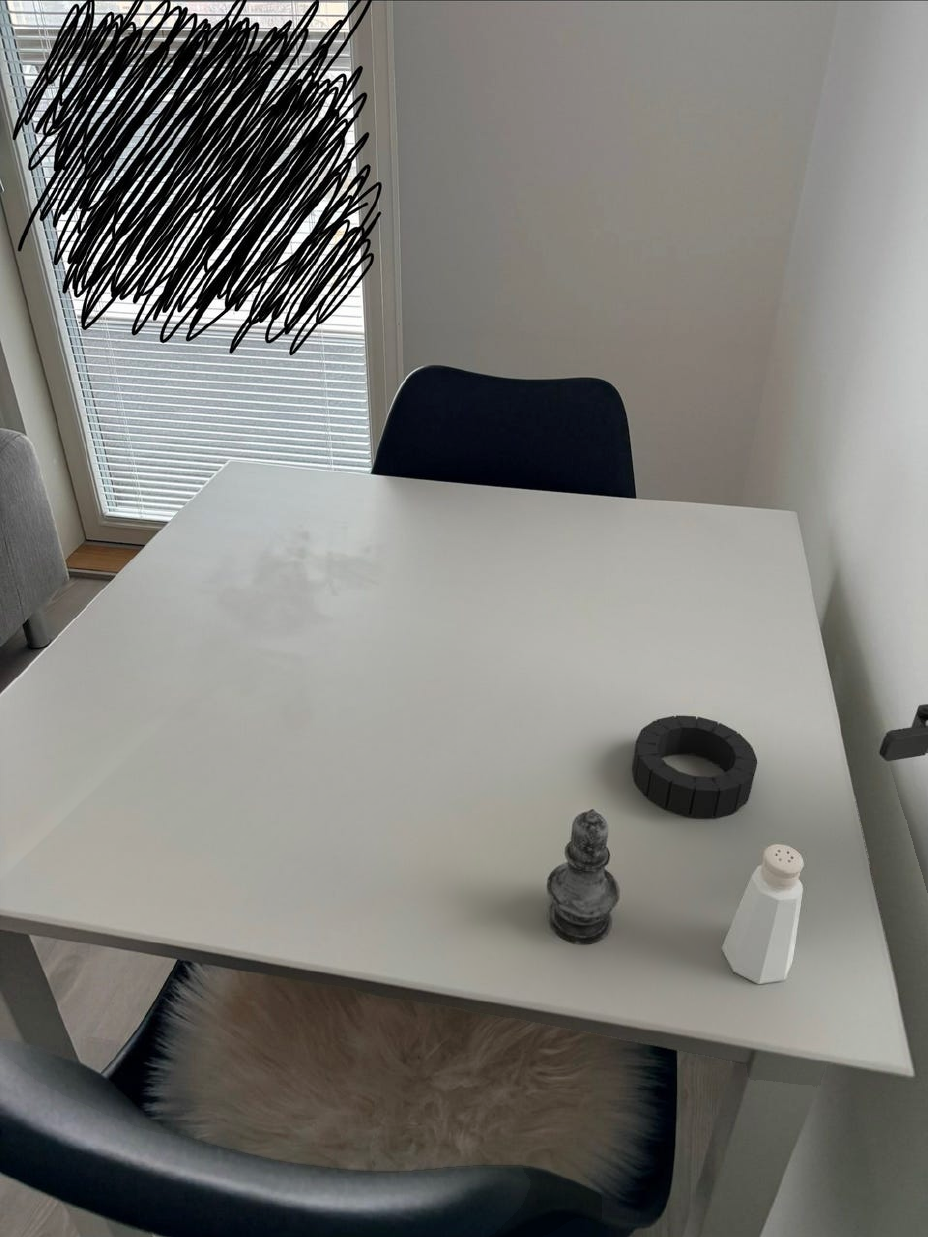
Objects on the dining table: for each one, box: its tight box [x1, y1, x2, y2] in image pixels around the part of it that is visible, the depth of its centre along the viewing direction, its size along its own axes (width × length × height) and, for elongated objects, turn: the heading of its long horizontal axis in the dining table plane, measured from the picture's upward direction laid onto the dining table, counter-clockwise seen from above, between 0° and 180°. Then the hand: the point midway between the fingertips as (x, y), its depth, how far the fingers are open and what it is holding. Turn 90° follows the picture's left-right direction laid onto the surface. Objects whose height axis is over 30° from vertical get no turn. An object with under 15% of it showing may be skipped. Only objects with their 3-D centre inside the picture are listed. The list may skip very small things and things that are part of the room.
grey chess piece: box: [546, 808, 621, 945], centre depth 69 cm, size 6×6×12 cm
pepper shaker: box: [721, 843, 805, 985], centre depth 67 cm, size 5×5×11 cm
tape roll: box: [631, 715, 758, 820], centre depth 87 cm, size 12×12×4 cm
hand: (921, 785), depth 63 cm, fingers open, 8 cm apart
